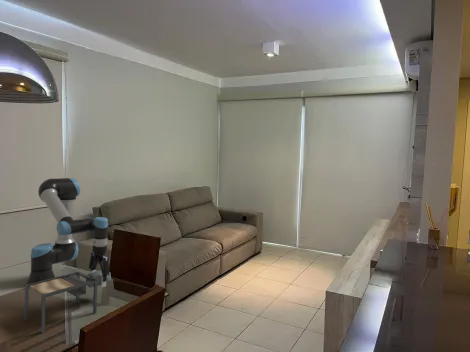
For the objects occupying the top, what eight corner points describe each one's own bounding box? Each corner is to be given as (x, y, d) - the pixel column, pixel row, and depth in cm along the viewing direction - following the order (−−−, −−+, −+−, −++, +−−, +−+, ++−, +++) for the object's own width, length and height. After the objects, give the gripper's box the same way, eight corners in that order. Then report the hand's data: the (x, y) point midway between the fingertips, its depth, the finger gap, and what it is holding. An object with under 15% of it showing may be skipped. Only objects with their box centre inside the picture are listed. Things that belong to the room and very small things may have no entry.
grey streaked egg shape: (88, 285, 188) (90, 267, 192) (82, 288, 195) (84, 270, 199) (112, 287, 196) (114, 269, 201) (106, 289, 203) (108, 272, 207)
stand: (77, 302, 193) (78, 271, 191) (96, 313, 182) (97, 280, 181) (24, 320, 171) (25, 285, 170) (42, 333, 160) (42, 295, 159)
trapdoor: (71, 286, 187) (71, 275, 186) (85, 293, 178) (86, 282, 178) (29, 297, 170) (29, 285, 170) (43, 306, 162) (43, 294, 161)
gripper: (82, 242, 200) (81, 280, 201) (105, 251, 187) (103, 291, 188) (95, 239, 206) (93, 277, 207) (117, 248, 193) (115, 287, 194)
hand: (98, 284), depth 198 cm, fingers closed on grey streaked egg shape, 9 cm apart
